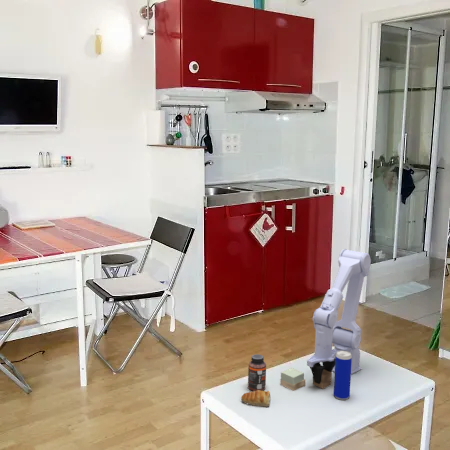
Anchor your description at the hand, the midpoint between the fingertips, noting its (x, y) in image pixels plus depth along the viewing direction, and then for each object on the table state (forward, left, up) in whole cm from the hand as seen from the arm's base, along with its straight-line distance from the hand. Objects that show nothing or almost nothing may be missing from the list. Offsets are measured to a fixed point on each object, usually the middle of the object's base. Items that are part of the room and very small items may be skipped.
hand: (321, 380), depth 187 cm
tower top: (+8, -6, +1) cm, 10 cm away
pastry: (+25, -6, -2) cm, 26 cm away
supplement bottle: (+19, -13, -2) cm, 23 cm away
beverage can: (+2, +10, -2) cm, 10 cm away
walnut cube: (0, 0, -1) cm, 1 cm away
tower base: (+8, -6, -2) cm, 10 cm away
